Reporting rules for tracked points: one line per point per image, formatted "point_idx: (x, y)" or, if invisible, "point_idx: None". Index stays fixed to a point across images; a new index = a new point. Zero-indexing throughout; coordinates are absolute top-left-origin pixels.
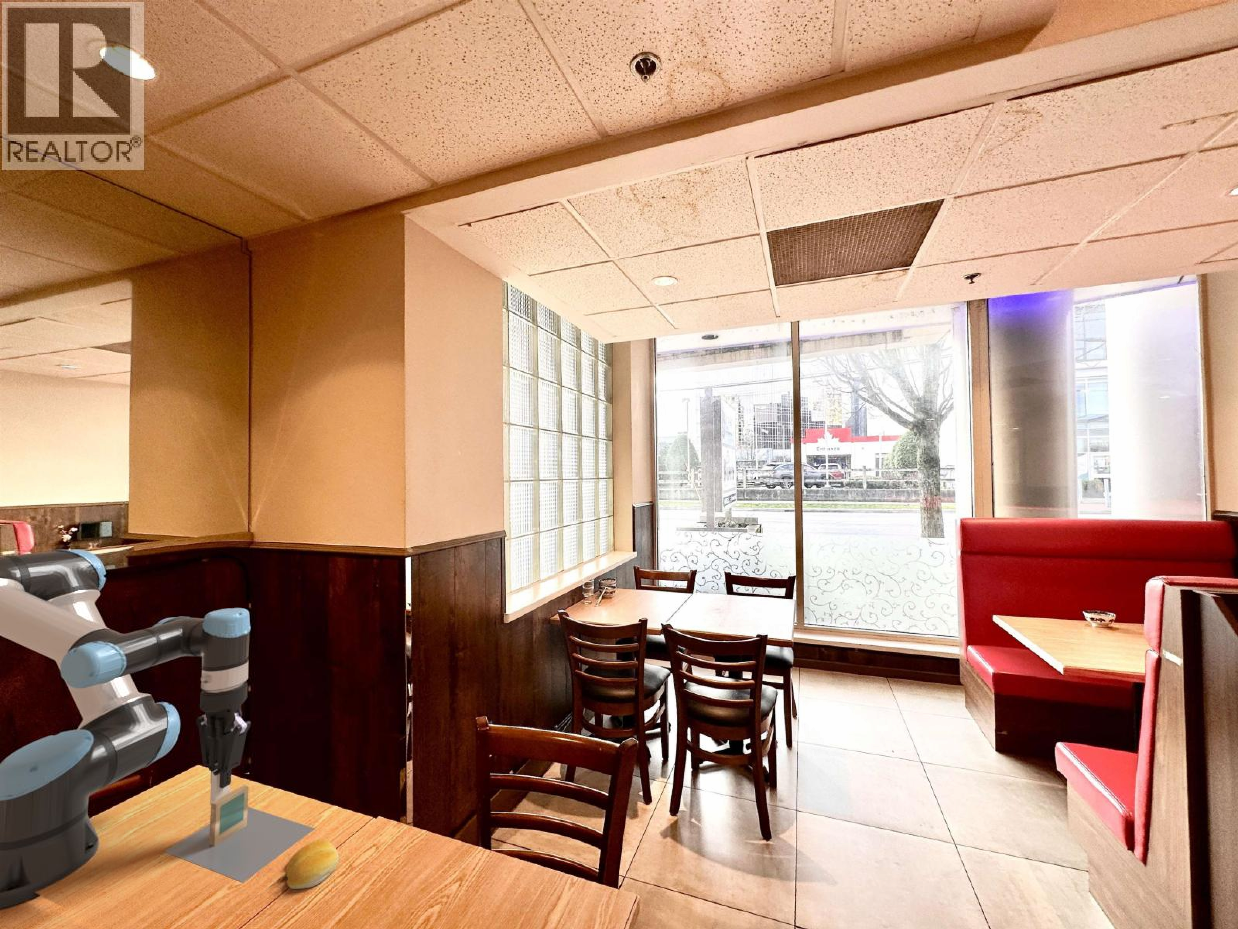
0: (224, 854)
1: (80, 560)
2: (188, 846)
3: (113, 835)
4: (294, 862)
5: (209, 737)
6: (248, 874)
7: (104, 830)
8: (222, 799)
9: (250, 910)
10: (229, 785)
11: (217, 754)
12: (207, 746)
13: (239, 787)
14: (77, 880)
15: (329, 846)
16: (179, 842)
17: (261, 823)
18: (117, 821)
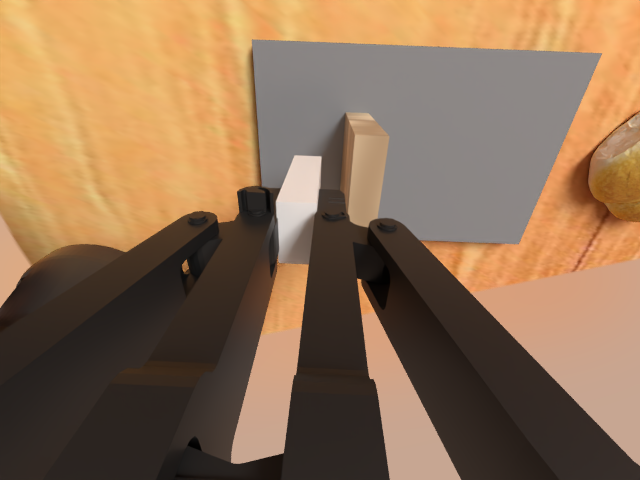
0: (408, 204)
1: None
2: None
3: (80, 215)
4: (634, 199)
5: (104, 375)
6: (514, 228)
7: (39, 211)
8: (366, 224)
9: (560, 261)
10: (319, 172)
11: (262, 295)
12: (158, 335)
13: (357, 154)
14: None
15: None
16: None
17: (406, 93)
18: (16, 184)
